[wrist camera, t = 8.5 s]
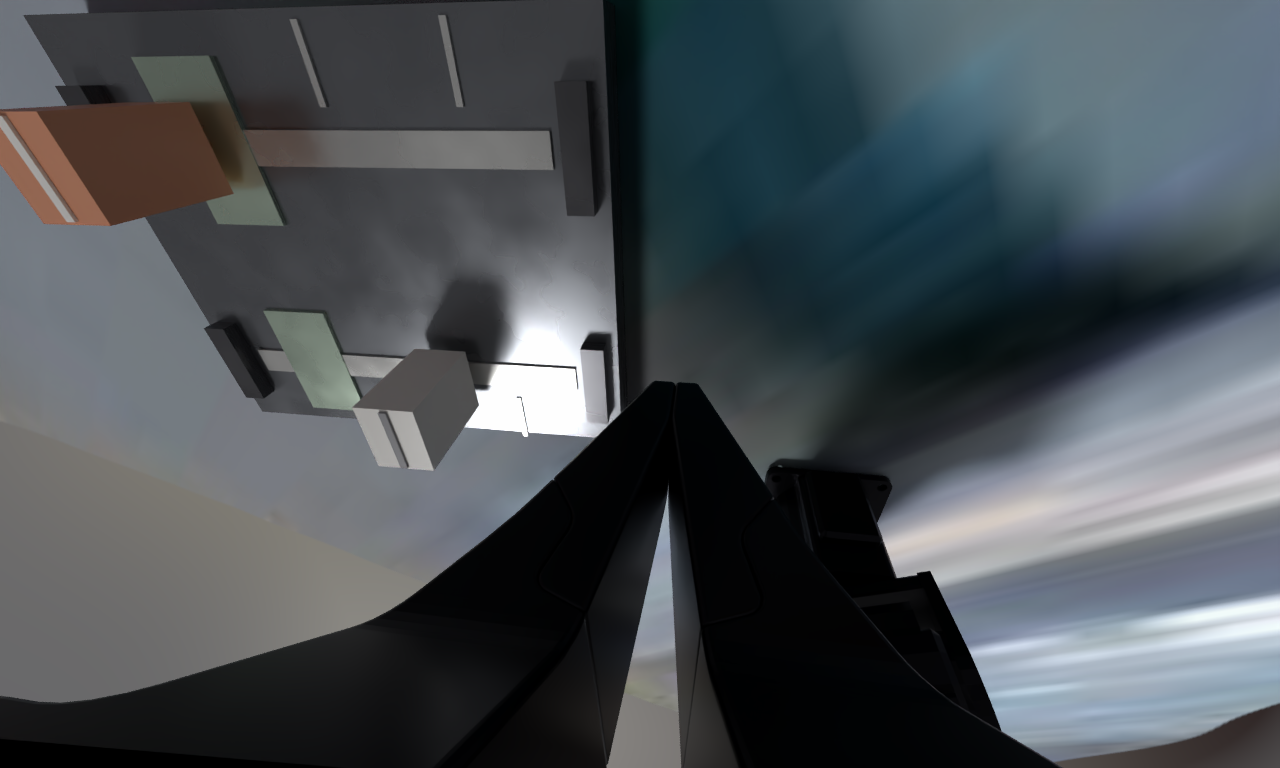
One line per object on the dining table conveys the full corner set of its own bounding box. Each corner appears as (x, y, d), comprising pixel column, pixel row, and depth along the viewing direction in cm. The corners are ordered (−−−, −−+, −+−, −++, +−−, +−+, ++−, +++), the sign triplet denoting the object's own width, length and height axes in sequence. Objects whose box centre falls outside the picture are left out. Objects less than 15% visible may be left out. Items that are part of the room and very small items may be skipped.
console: (627, 417, 25) (619, 451, 22) (291, 393, 27) (253, 422, 25) (614, 6, 15) (598, -6, 13) (89, 20, 17) (-4, 12, 15)
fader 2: (479, 405, 22) (432, 472, 18) (432, 402, 22) (377, 467, 19) (465, 351, 20) (411, 413, 17) (414, 348, 21) (350, 409, 17)
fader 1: (234, 193, 18) (107, 226, 14) (178, 192, 18) (40, 224, 14) (189, 101, 16) (31, 111, 12) (129, 102, 16) (-43, 111, 12)
